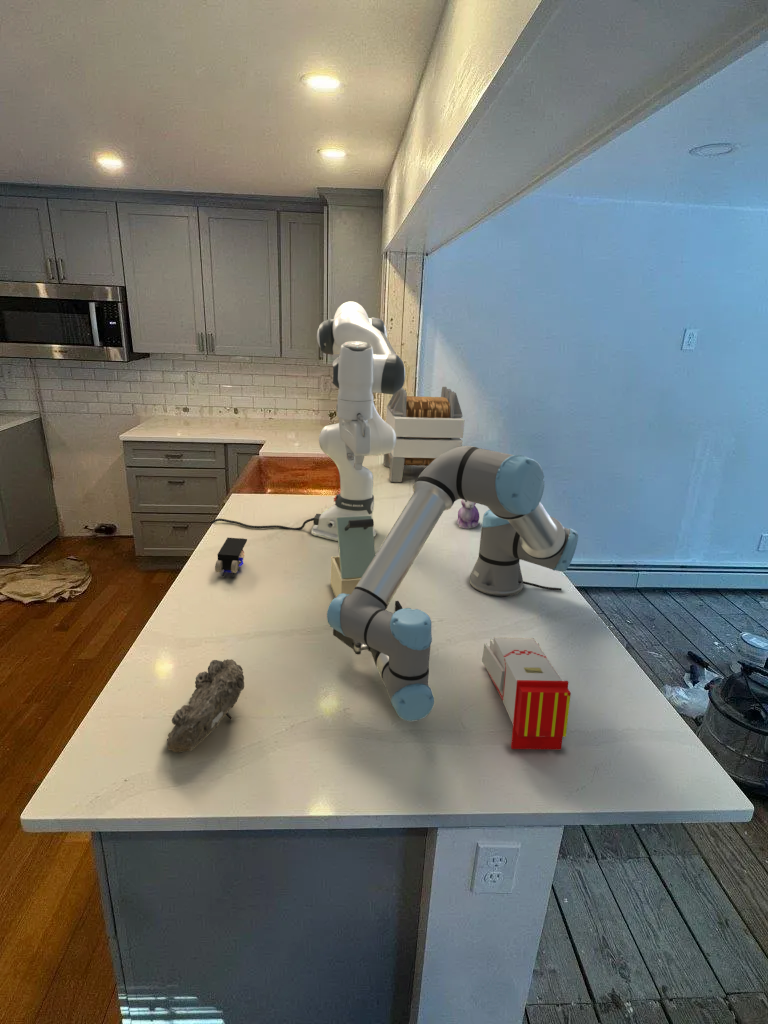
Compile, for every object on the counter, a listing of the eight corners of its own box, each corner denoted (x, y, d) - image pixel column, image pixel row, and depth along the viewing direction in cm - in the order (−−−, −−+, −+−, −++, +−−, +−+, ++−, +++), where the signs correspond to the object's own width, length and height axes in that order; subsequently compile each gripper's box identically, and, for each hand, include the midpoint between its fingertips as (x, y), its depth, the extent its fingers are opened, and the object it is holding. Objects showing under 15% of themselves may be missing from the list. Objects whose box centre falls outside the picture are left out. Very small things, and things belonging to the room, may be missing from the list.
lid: (336, 518, 147) (342, 511, 138) (370, 516, 150) (378, 509, 141) (341, 578, 144) (347, 575, 135) (376, 576, 147) (385, 572, 138)
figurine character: (238, 584, 162) (249, 557, 175) (236, 562, 158) (247, 536, 172) (215, 584, 161) (227, 556, 175) (212, 561, 158) (225, 535, 171)
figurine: (465, 531, 205) (469, 491, 200) (449, 521, 213) (452, 483, 208) (486, 527, 209) (490, 488, 204) (470, 518, 217) (473, 481, 212)
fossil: (192, 660, 117) (244, 628, 112) (224, 691, 120) (276, 661, 115) (142, 746, 98) (202, 712, 93) (182, 779, 101) (242, 748, 96)
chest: (330, 585, 161) (331, 556, 158) (362, 583, 163) (363, 554, 160) (341, 612, 147) (341, 581, 144) (375, 609, 149) (376, 578, 146)
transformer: (382, 463, 289) (386, 382, 275) (445, 464, 293) (451, 384, 279) (390, 482, 257) (394, 392, 243) (460, 483, 261) (468, 394, 247)
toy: (531, 620, 128) (580, 688, 99) (526, 675, 131) (572, 757, 101) (478, 619, 128) (511, 687, 98) (474, 674, 130) (505, 756, 101)
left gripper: (378, 418, 131) (375, 475, 136) (358, 403, 150) (357, 454, 154) (351, 418, 130) (350, 476, 134) (335, 403, 148) (334, 455, 153)
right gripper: (333, 682, 114) (317, 627, 133) (448, 667, 121) (417, 617, 140) (333, 650, 112) (317, 599, 131) (451, 637, 118) (419, 589, 137)
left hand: (353, 464), depth 145 cm, fingers open, 8 cm apart
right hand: (369, 608), depth 135 cm, fingers open, 13 cm apart
